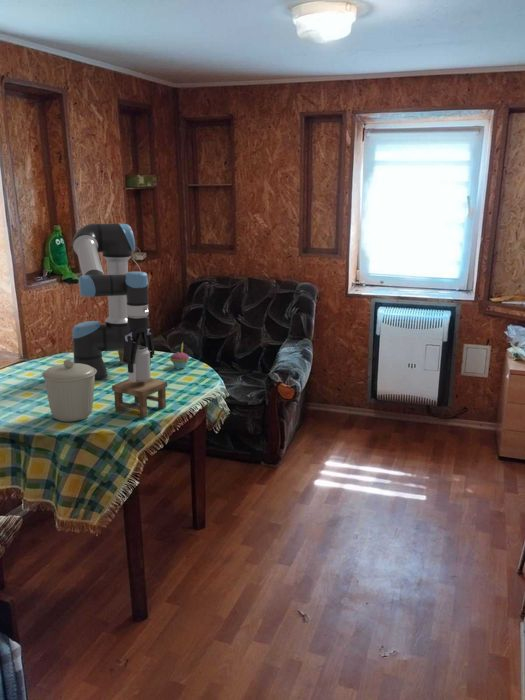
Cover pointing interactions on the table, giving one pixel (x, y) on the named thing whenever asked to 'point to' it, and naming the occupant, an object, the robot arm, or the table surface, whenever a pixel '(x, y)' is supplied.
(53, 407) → the canister
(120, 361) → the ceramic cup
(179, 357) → the cupcake
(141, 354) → the can
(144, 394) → the stool
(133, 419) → the table surface
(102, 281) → the robot arm
